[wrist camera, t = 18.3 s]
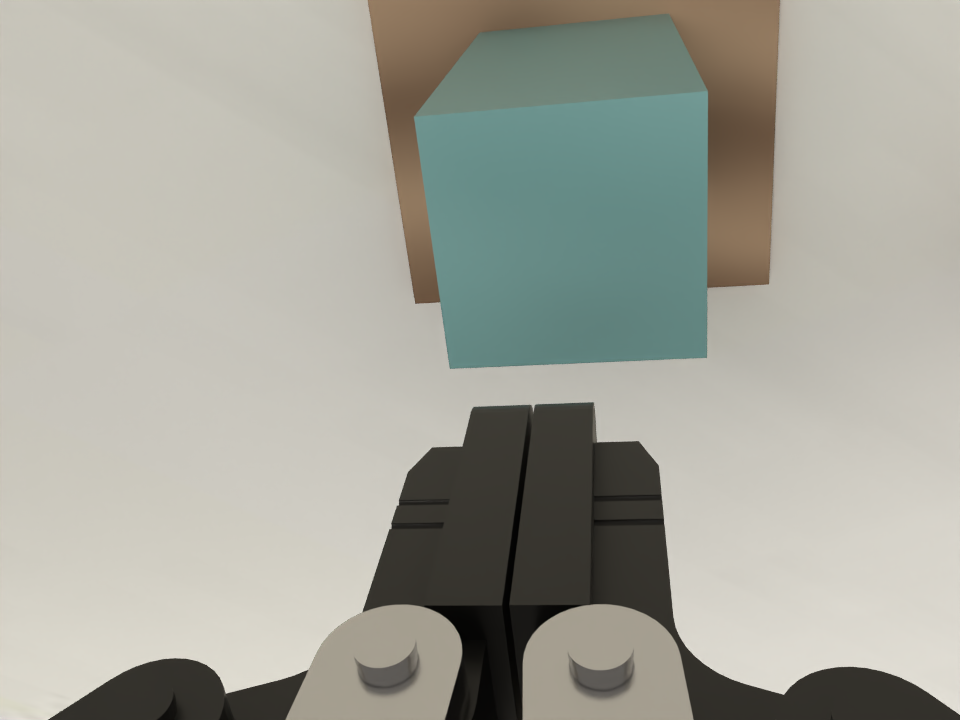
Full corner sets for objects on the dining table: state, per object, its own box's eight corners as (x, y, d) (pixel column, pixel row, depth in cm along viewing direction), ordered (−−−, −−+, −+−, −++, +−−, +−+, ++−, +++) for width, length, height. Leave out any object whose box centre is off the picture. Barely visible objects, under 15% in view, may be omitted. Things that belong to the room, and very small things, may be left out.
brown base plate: (764, 275, 31) (812, 388, 24) (419, 294, 33) (371, 405, 26) (779, -125, 25) (845, -125, 18) (362, -74, 27) (282, -57, 20)
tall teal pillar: (671, 198, 29) (706, 357, 19) (498, 210, 30) (450, 368, 20) (668, 13, 26) (708, 91, 17) (480, 32, 27) (413, 116, 18)
